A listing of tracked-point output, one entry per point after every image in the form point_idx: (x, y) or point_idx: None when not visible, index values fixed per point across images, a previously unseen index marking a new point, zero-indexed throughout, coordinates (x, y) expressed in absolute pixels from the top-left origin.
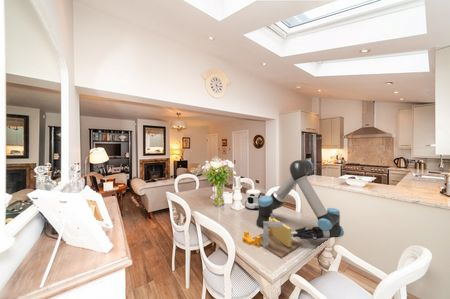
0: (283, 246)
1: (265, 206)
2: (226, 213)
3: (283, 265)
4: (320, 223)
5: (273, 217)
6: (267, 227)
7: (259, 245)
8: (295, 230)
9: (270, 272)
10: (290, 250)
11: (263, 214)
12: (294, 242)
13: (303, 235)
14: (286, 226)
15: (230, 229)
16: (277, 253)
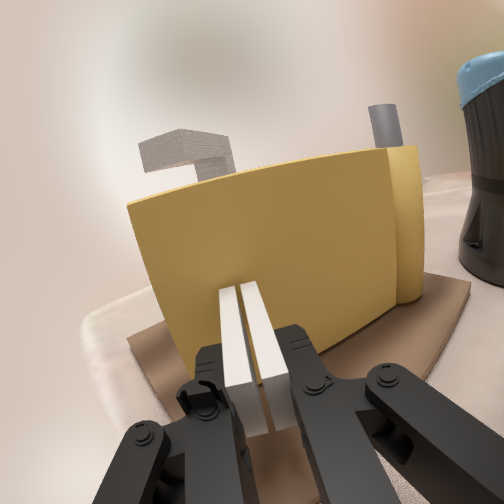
0: None
1: (467, 102)
2: (470, 193)
3: (91, 347)
4: None
5: (389, 139)
6: (197, 172)
7: None
8: (377, 374)
9: (90, 313)
10: (159, 392)
11: (472, 166)
12: (300, 456)
13: (110, 465)
14: (195, 184)
15: None
16: (156, 327)
